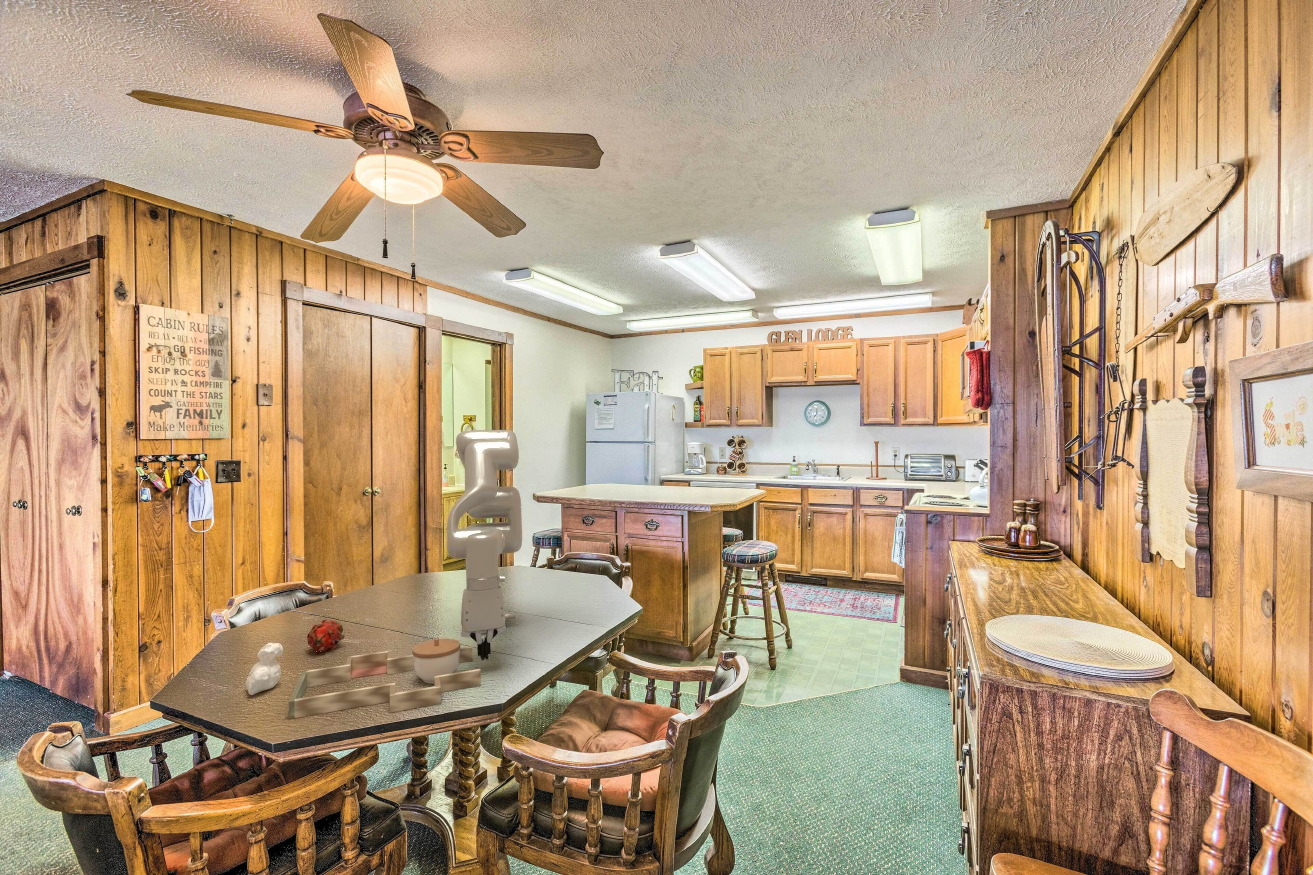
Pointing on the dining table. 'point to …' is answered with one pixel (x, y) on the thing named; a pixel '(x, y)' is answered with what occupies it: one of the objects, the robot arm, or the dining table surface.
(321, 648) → the dragon fruit
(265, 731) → the dining table surface
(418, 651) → the lidded jar
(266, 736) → the dining table surface
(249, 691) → the duck figurine
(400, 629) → the dining table surface
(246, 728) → the dining table surface
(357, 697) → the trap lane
